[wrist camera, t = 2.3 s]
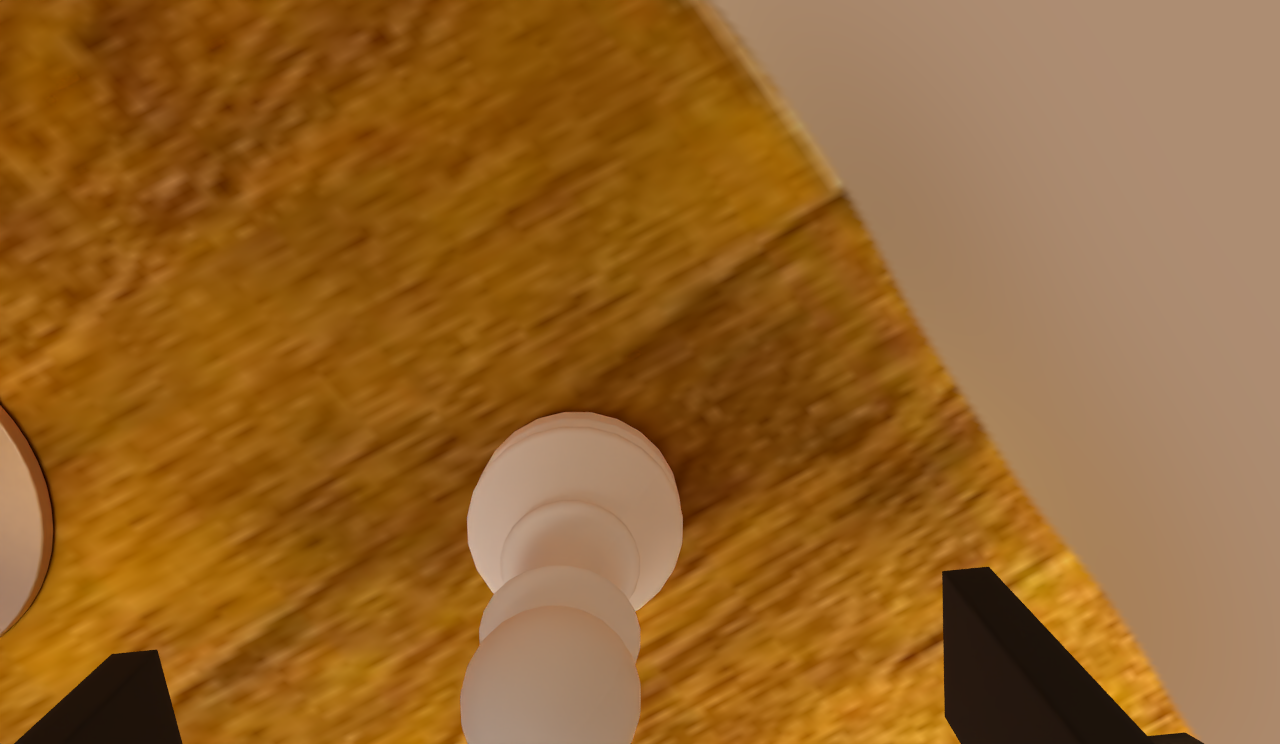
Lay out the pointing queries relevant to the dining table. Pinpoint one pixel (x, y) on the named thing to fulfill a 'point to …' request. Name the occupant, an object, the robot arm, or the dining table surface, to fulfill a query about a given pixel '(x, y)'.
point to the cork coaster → (21, 524)
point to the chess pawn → (566, 580)
